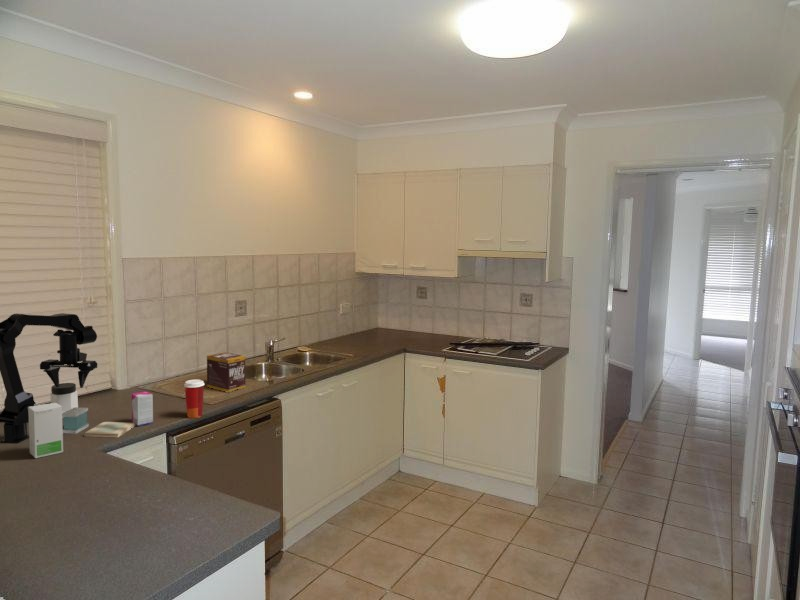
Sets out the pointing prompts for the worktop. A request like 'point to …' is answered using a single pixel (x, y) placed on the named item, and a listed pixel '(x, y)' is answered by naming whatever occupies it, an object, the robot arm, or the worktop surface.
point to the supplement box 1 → (142, 408)
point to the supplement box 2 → (225, 371)
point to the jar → (65, 396)
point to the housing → (75, 420)
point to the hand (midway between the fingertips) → (69, 387)
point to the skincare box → (45, 430)
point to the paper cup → (194, 398)
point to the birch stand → (110, 429)
